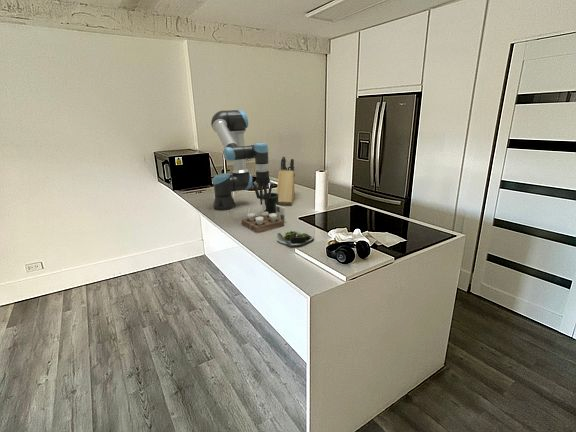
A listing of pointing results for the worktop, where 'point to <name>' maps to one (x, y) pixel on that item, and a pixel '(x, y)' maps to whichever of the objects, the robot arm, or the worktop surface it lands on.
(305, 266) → the worktop surface
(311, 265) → the worktop surface
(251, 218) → the button
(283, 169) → the knife block
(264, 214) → the button
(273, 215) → the button
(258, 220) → the button
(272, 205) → the mug
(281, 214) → the card
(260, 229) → the board
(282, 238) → the salad plate
